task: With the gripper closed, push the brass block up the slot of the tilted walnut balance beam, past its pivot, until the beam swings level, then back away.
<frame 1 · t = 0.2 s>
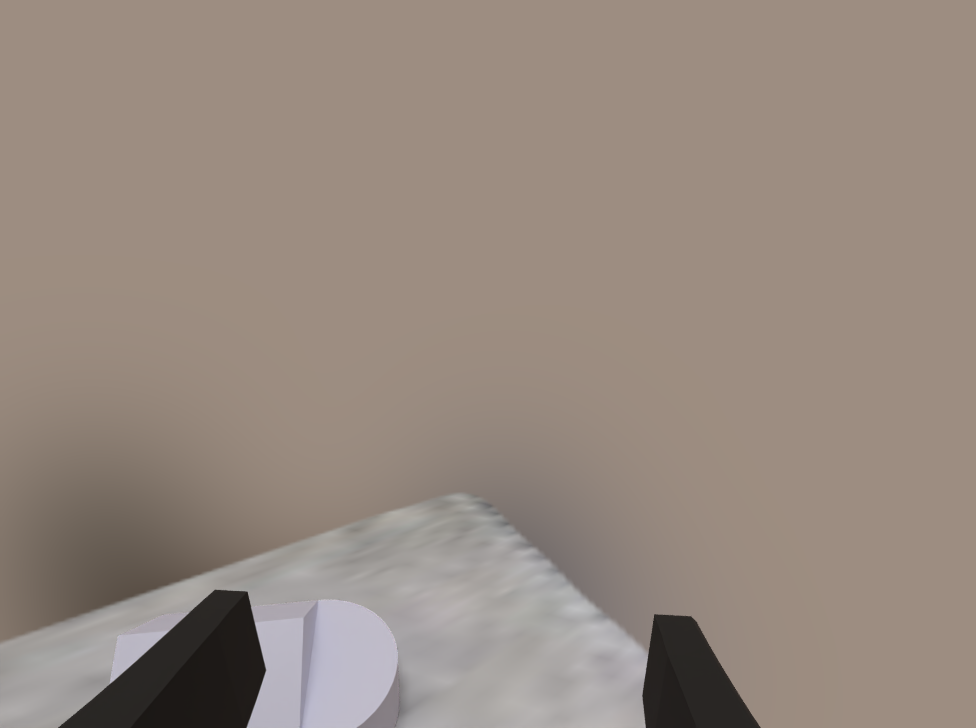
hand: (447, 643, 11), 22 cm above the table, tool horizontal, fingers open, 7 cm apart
wedge on round base: (277, 717, 32), on the table
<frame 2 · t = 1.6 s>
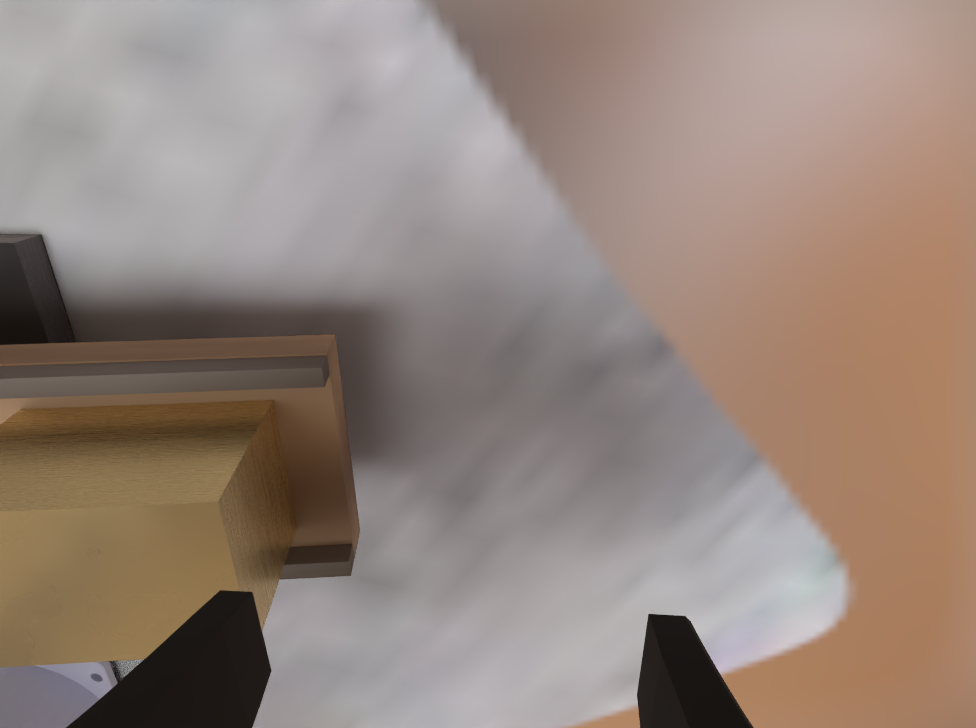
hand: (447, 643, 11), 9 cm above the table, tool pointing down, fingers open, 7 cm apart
rider: (167, 472, 16), point 5 cm above the table, tilted 8°, touching beam
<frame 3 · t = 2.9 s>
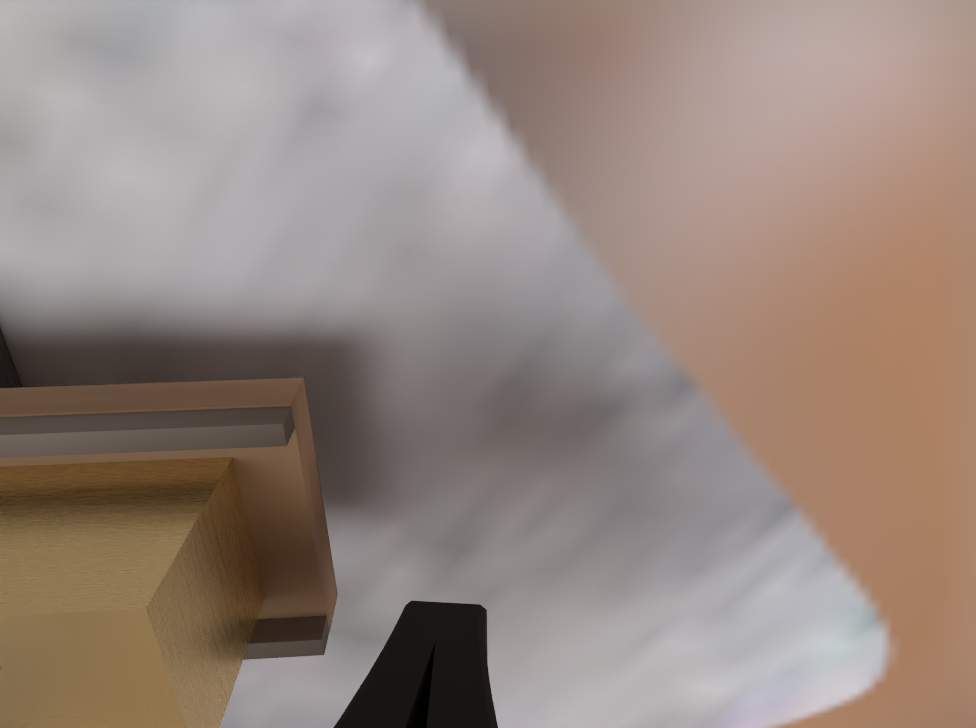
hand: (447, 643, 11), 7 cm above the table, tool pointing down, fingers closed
rider: (110, 539, 13), point 5 cm above the table, tilted 8°, touching beam
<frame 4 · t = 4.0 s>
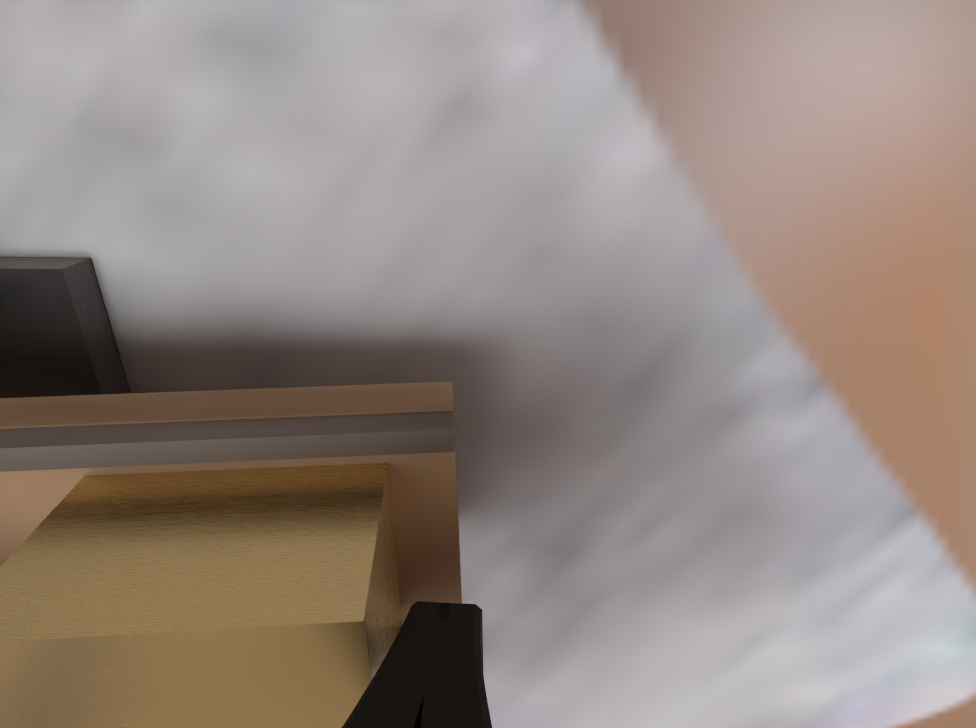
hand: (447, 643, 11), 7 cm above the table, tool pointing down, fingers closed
rider: (255, 546, 13), point 5 cm above the table, tilted 8°, touching beam, gripper
grey metal bracket: (12, 420, 18), on the table
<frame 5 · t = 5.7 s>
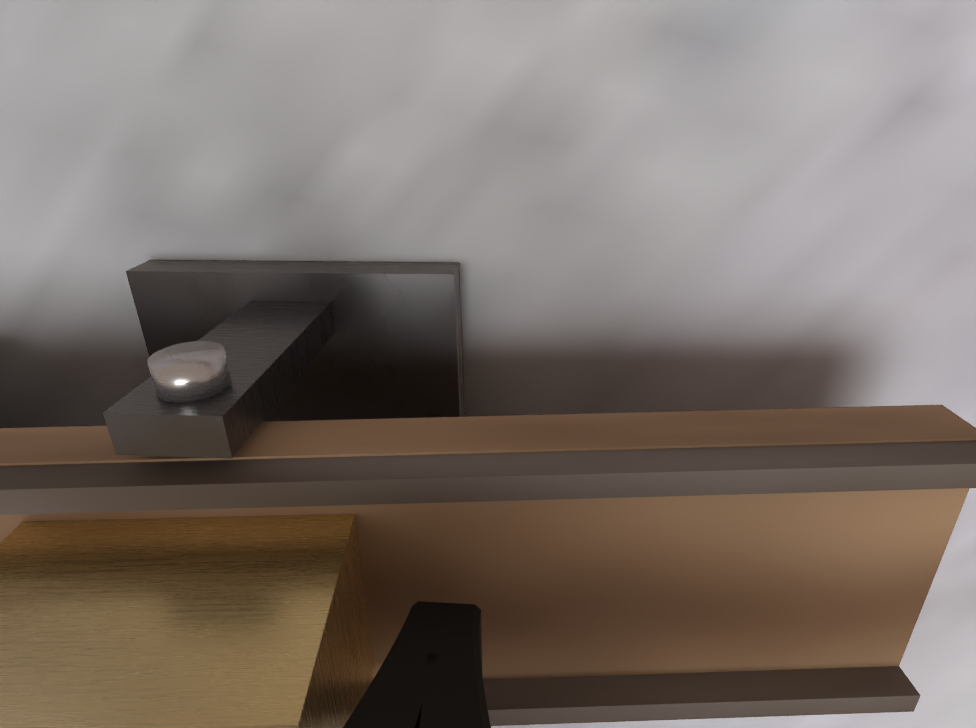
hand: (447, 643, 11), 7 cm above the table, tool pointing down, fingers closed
rider: (211, 598, 12), point 6 cm above the table, tilted 6°, touching gripper
grey metal bracket: (326, 431, 17), on the table
beam: (243, 520, 14), point 4 cm above the table, hinge at 6.0°
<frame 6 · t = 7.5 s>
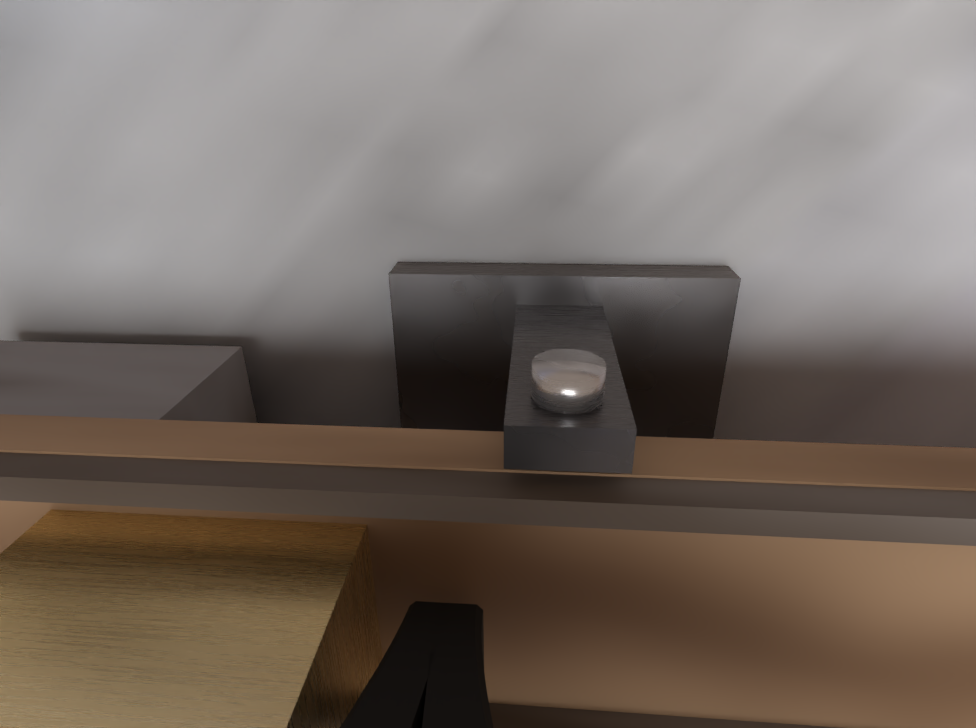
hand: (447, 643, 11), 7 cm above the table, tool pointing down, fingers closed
rider: (226, 597, 12), point 6 cm above the table, touching beam, gripper
grey metal bracket: (552, 439, 17), on the table
beam: (532, 531, 13), point 4 cm above the table, hinge at -0.2°, touching rider
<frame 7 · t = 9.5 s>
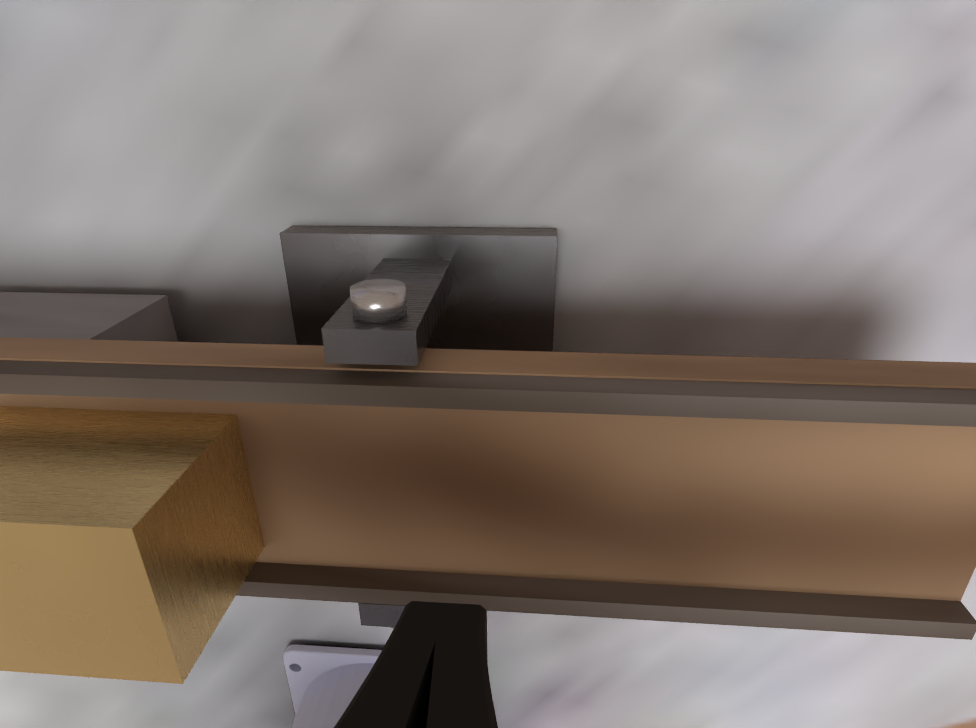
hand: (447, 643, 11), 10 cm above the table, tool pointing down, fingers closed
rider: (136, 479, 15), point 6 cm above the table, touching beam
grey metal bracket: (430, 376, 20), on the table
beam: (389, 437, 17), point 4 cm above the table, hinge at -0.2°, touching rider
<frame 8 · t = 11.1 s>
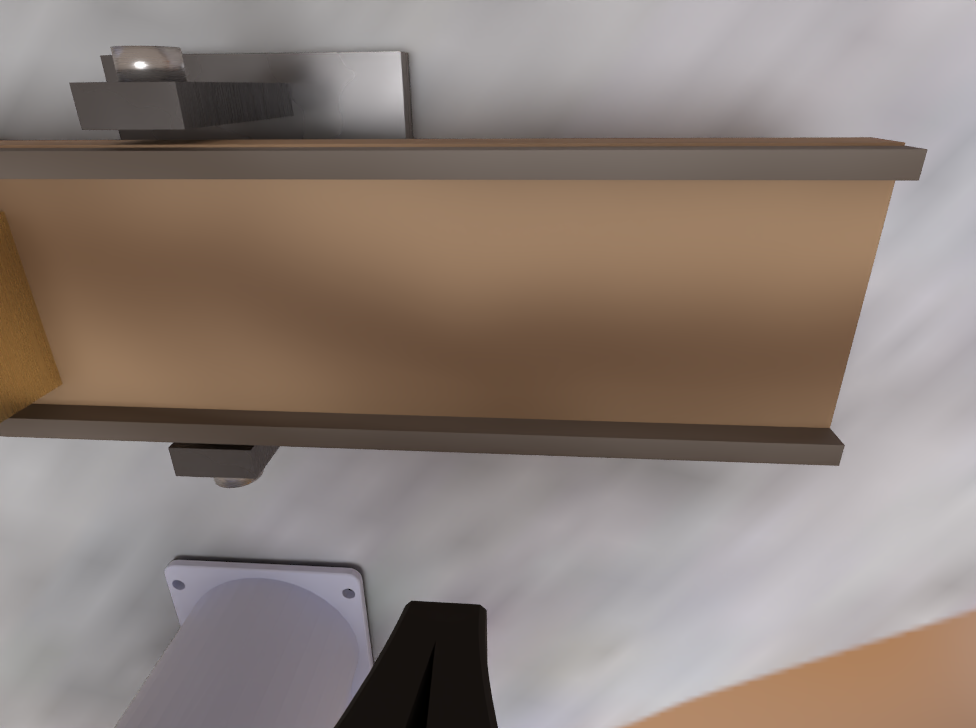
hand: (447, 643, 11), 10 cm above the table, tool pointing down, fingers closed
grey metal bracket: (290, 237, 19), on the table
beam: (214, 272, 15), point 4 cm above the table, hinge at -0.2°, touching rider
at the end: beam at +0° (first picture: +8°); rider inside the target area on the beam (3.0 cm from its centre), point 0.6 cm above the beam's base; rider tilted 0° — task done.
